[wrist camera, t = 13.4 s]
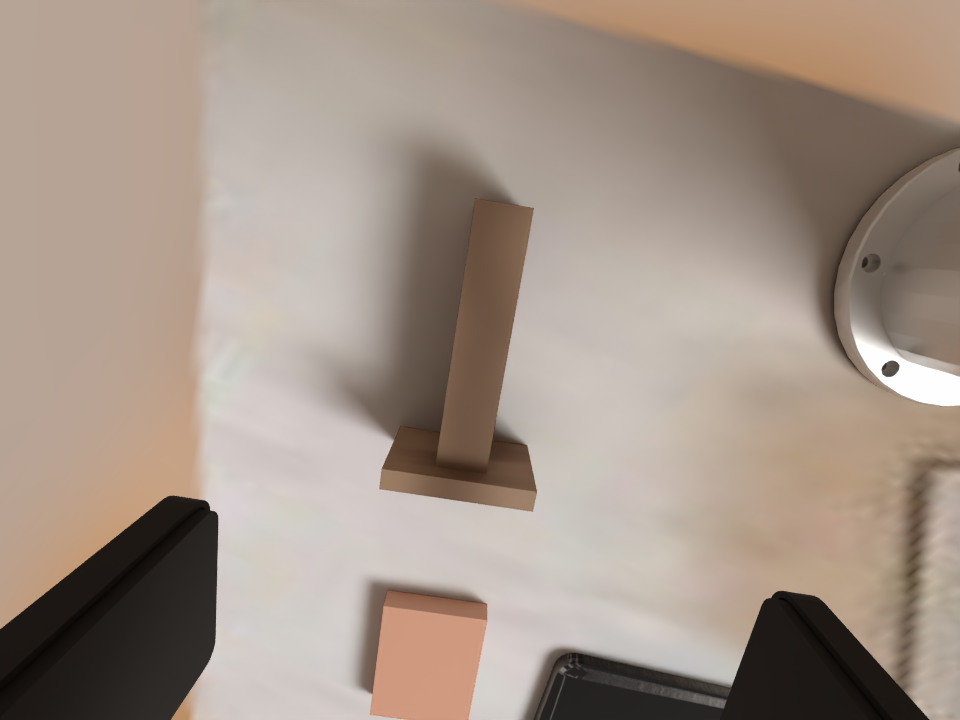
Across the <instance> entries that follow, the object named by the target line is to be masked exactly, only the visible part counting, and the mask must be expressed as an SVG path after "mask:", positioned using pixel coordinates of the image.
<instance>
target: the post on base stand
mask: <svg viewBox="0 0 960 720" xmlns="http://www.w3.org/2000/svg"><path fill="white" fill-rule="evenodd" d="M533 210H534V208H530V207H524V206H518V205H512V204H506V203H500V202H494V201H488V200H482V199H476V198H475V205H474V211H473V218H472V225H471V231H470V238H469V245H468V251H467V258H466V265H465V271H464V278H463V285H462V291H461V298H460V305H459V311H458V318H457V325H456V331H455V338H454V345H453V351H452V358H451V365H450V371H449V378H448V385H447V391H446V398H445V405H444V411H443V418H442V425H441V431H440V432H434V431H428V430H421V429H414V428H408V427H401V426H400V429H399V431H398V433H397V435H396V438H395V440H394V442H393V444H392V447H391V449H390V451H389V454H388V456H387V458H386V460H385V463H384V465H383V467H382V471H381V479H380V488H379V489H383V490H390V491H396V492H403V493H410V494H417V495H424V496H430V497H437V498H444V499H451V500H457V501H464V502H471V503H478V504H485V505H491V506H498V507H505V508H512V509H519V510H525V511H532V512H533V508H534V503H535V499H536V494H537V490H536V485H535V480H534V476H533V471H532V466H531V461H530V456H529V452H528V447H527V446H526V445H519V444H513V443H506V442H500V441H493V440H492V439H493V433H494V427H495V422H496V416H497V411H498V405H499V400H500V394H501V388H502V383H503V377H504V372H505V366H506V361H507V355H508V349H509V344H510V338H511V333H512V327H513V322H514V316H515V310H516V305H517V299H518V294H519V288H520V283H521V277H522V271H523V266H524V260H525V255H526V249H527V244H528V238H529V232H530V227H531V221H532V216H533Z"/></svg>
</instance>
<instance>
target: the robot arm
mask: <svg viewBox="0 0 960 720" xmlns="http://www.w3.org/2000/svg"><path fill="white" fill-rule="evenodd" d="M834 316H835V321H836V325H837V330H838V335H839V338H840V340H841V342H842V345H843V347H844V349H845V351H846V353H847V356H848V357H849V358H850V360H851V361H852V362H853V364H854V365H855V366H856V367H857V369H858V370H859V371H860V372H861V373H862V374H863V375H864V376H865V377H867V378H868V379H869V380H870V381H871V382H873V383H874V384H875V385H876V386H878V387H880V388H882V389H884V390H886V391H888V392H890V393H892V394H894V395H897V396H900V397H903V398H906V399H908V400H911V401H914V402H917V403H920V404H927V405H933V406H939V407H953V406H960V148H956V149H953V150H950V151H948V152H946V153H943V154H941V155H939V156H936V157H934V158H932V159H929V160H927V161H926V162H924V163H922V164H921V165H919V166H918V167H916V168H915V169H913V170H911V171H910V172H908V173H907V174H905V175H903V176H902V177H901V178H900V179H899V180H898V181H897V182H895V183H894V184H893V185H892V186H891V187H890V188H889V189H887V190H886V191H885V192H884V193H883V194H882V195H881V196H880V197H879V198H878V199H877V201H876V202H875V203H874V204H873V206H872V207H871V208H870V209H869V210H868V212H867V213H866V214H865V215H864V216H863V218H862V219H861V221H860V223H859V224H858V226H857V228H856V230H855V231H854V233H853V235H852V236H851V238H850V240H849V242H848V244H847V247H846V249H845V252H844V254H843V257H842V260H841V262H840V265H839V269H838V274H837V279H836V284H835V289H834ZM217 553H218V515H217V513H216V512H215V511H210V506H209V504H208V502H206V501H205V500H198V499H192V498H185V497H179V496H168V497H166V498H164V499H163V500H162V501H160V502H159V503H158V504H157V505H155V506H154V507H153V508H152V509H150V510H149V511H148V512H147V513H145V514H144V515H143V516H142V517H140V518H139V519H138V520H137V521H135V522H134V523H133V524H132V525H130V526H129V527H128V528H127V529H125V530H124V531H123V532H122V533H120V534H119V535H118V536H116V537H115V538H114V539H113V540H111V541H110V542H109V543H108V544H107V545H105V546H104V547H103V548H101V549H100V550H99V551H98V552H96V553H95V554H94V555H93V556H91V557H90V558H89V559H88V560H86V561H85V562H84V563H83V564H81V565H80V566H79V567H78V568H77V569H75V570H74V571H73V572H71V573H70V574H69V575H68V576H66V577H65V578H64V579H63V580H61V581H60V582H59V583H58V584H56V585H55V586H54V587H53V588H51V589H50V590H49V591H48V592H46V593H45V594H44V595H43V596H41V597H40V598H39V599H38V600H36V601H35V602H34V603H33V604H31V605H30V606H29V607H28V608H26V609H25V610H24V611H23V612H21V613H20V614H19V615H18V616H16V617H15V618H14V619H13V620H11V621H10V622H9V623H8V624H6V625H5V626H4V627H3V628H1V629H0V720H171V718H172V717H173V715H174V714H175V712H176V711H177V709H178V708H179V706H180V705H181V703H182V702H183V700H184V699H185V697H186V696H187V694H188V693H189V691H190V690H191V688H192V687H193V685H194V684H195V682H196V681H197V679H198V678H199V676H200V675H201V673H202V672H203V670H204V669H205V667H206V666H207V664H208V662H209V660H210V658H211V655H212V652H213V649H214V645H215V636H216V594H217ZM720 720H929V719H928V718H927V717H926V715H925V714H924V713H923V712H922V711H921V710H920V709H919V708H918V707H917V705H916V704H915V703H914V702H913V701H912V700H911V699H910V698H909V697H908V695H907V694H906V693H905V692H904V691H903V690H902V689H901V688H900V687H899V685H898V684H897V683H896V682H895V681H894V680H893V679H892V678H891V677H890V675H889V674H888V673H887V672H886V671H885V670H884V669H883V668H882V667H881V665H880V664H879V663H878V662H877V661H876V660H875V659H874V658H873V657H872V655H871V654H870V653H869V652H868V651H867V650H866V649H865V648H864V647H863V645H862V644H861V643H860V642H859V641H858V640H857V639H856V638H855V636H854V635H853V634H852V633H851V632H850V631H849V630H848V629H847V628H846V626H845V625H844V624H843V623H842V622H841V621H840V620H839V619H838V618H837V616H836V615H835V614H834V613H833V612H832V611H831V610H830V609H829V608H828V606H827V605H826V604H825V603H824V602H823V601H822V600H820V599H819V598H818V597H815V596H812V595H805V594H799V593H792V592H786V591H777V592H776V593H775V594H773V596H772V598H769V599H766V600H765V601H764V602H763V604H762V606H761V609H760V611H759V614H758V617H757V620H756V622H755V625H754V628H753V630H752V633H751V636H750V639H749V641H748V644H747V647H746V649H745V652H744V655H743V658H742V660H741V663H740V666H739V668H738V671H737V674H736V677H735V679H734V682H733V685H732V687H731V690H730V693H729V696H728V698H727V701H726V704H725V706H724V709H723V712H722V714H721V718H720Z"/></svg>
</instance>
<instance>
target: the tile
mask: <svg viewBox="0 0 960 720" xmlns="http://www.w3.org/2000/svg"><path fill="white" fill-rule="evenodd" d="M486 624H487V604H483V603H476V602H469V601H461V600H454V599H447V598H440V597H433V596H425V595H418V594H411V593H404V592H396V591H389V590H388V592H387V596H386V599H385V603H384V607H383V615H382V623H381V631H380V639H379V647H378V654H377V662H376V670H375V678H374V686H373V694H372V702H371V710H370V715H376V716H383V717H391V718H399V719H406V720H468V718H469V713H470V708H471V702H472V697H473V692H474V687H475V682H476V676H477V671H478V666H479V661H480V655H481V650H482V645H483V640H484V634H485V629H486Z"/></svg>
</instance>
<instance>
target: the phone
mask: <svg viewBox="0 0 960 720" xmlns="http://www.w3.org/2000/svg"><path fill="white" fill-rule="evenodd" d="M730 690H731V689H730V688H726V687H721V686H717V685H713V684H708V683H704V682H700V681H695V680H691V679H687V678H682V677H678V676H674V675H669V674H665V673H661V672H656V671H652V670H648V669H643V668H639V667H635V666H630V665H626V664H622V663H617V662H613V661H609V660H604V659H600V658H596V657H591V656H587V655H583V654H578V653H569V654H565V655H563V656H561V657H560V658H559V659H558V660H557V661H556V663H555V664H554V667H553V670H552V672H551V675H550V678H549V680H548V683H547V686H546V688H545V691H544V693H543V696H542V699H541V701H540V704H539V707H538V709H537V712H536V714H535V717H534V720H720V718H721V714H722V712H723V709H724V706H725V704H726V701H727V698H728V696H729V693H730Z"/></svg>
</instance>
